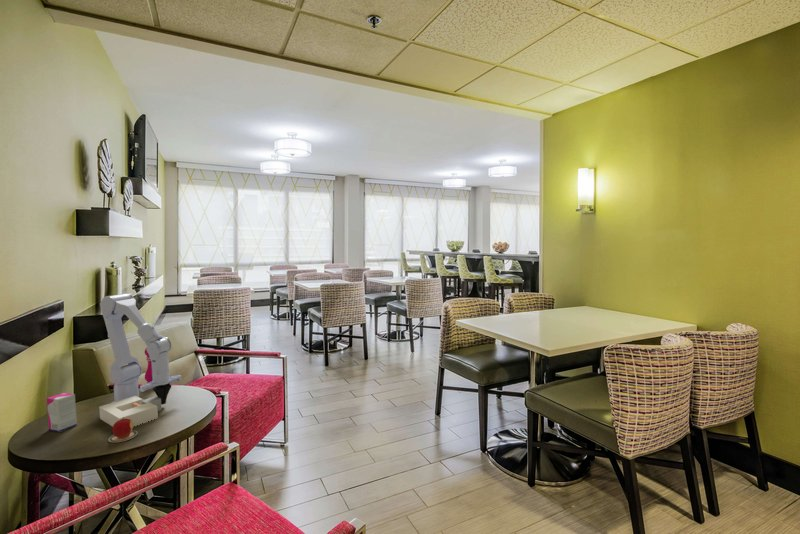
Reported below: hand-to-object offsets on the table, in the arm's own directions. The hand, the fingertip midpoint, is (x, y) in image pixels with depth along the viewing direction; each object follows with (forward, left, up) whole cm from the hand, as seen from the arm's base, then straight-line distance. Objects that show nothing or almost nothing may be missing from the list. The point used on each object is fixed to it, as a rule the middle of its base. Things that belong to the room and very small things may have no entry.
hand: (162, 403), depth 156 cm
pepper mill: (-28, +9, -2) cm, 30 cm away
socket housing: (0, -12, -1) cm, 12 cm away
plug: (0, -4, -1) cm, 4 cm away
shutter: (0, -9, -1) cm, 9 cm away
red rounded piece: (+14, -19, -2) cm, 24 cm away
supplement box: (-12, -28, -2) cm, 30 cm away
